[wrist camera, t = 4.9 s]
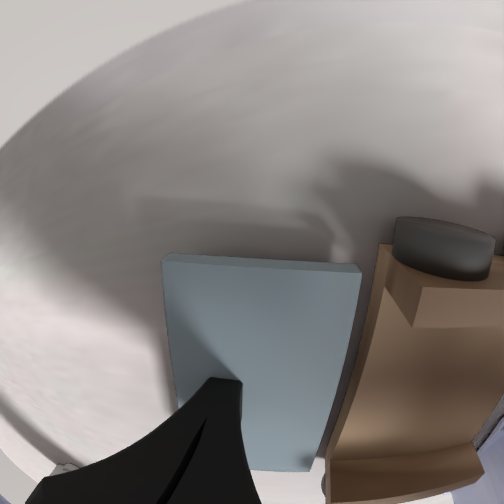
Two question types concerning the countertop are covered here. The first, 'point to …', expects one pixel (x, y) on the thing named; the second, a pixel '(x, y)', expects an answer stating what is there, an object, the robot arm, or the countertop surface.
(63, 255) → the countertop surface
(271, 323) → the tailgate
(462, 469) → the cart bed
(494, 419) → the countertop surface
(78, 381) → the countertop surface
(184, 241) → the countertop surface
